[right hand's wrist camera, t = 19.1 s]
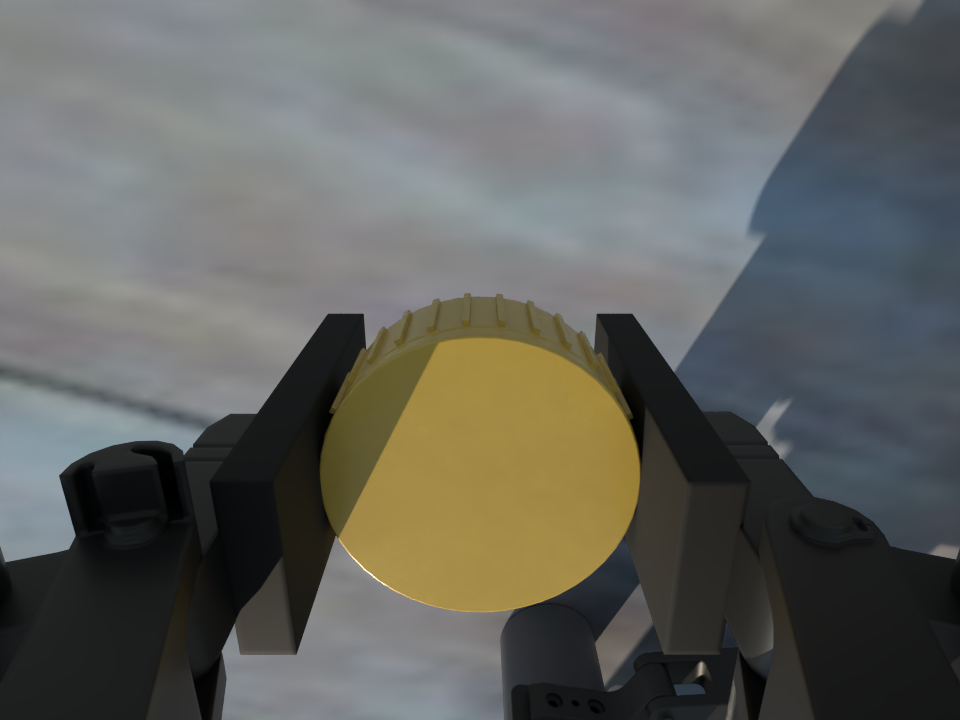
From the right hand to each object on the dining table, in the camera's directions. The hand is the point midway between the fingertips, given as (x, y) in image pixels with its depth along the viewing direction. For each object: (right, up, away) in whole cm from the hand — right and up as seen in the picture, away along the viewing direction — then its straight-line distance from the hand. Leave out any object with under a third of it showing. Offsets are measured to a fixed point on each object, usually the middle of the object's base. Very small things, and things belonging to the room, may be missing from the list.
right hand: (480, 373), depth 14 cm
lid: (0, -2, -4) cm, 4 cm away
